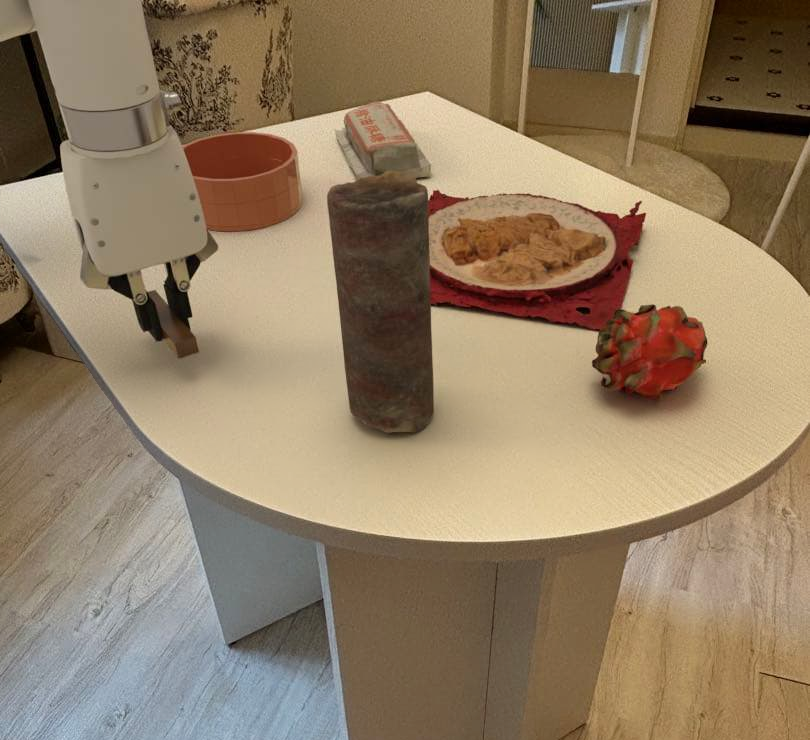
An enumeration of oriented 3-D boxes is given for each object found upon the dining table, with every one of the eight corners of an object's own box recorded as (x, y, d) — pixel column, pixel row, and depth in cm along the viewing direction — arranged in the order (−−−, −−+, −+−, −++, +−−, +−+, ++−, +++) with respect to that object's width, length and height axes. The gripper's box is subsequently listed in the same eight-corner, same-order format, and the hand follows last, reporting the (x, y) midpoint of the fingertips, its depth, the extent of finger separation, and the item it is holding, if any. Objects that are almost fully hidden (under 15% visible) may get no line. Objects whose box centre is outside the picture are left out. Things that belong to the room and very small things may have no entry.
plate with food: (434, 205, 100) (434, 177, 97) (644, 225, 93) (649, 195, 91) (369, 301, 84) (366, 270, 82) (614, 332, 78) (619, 301, 75)
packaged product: (433, 139, 101) (356, 148, 100) (433, 178, 105) (359, 187, 103) (400, 94, 113) (331, 101, 112) (401, 130, 117) (334, 138, 115)
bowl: (155, 211, 100) (143, 161, 95) (242, 171, 108) (235, 123, 103) (241, 243, 93) (231, 191, 89) (326, 198, 101) (322, 148, 97)
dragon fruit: (574, 415, 72) (675, 395, 76) (638, 409, 64) (747, 387, 69) (562, 318, 70) (666, 304, 75) (626, 301, 62) (738, 286, 67)
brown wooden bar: (139, 310, 77) (135, 295, 76) (158, 304, 78) (155, 289, 77) (178, 359, 71) (174, 344, 70) (199, 352, 72) (195, 337, 71)
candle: (348, 443, 67) (326, 207, 53) (345, 391, 72) (325, 164, 58) (438, 436, 67) (440, 201, 53) (429, 386, 72) (429, 158, 58)
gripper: (193, 88, 66) (229, 289, 80) (-3, 127, 60) (72, 337, 74) (230, 114, 62) (262, 323, 75) (24, 159, 56) (98, 377, 70)
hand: (168, 329), depth 75 cm, fingers closed on brown wooden bar, 2 cm apart
